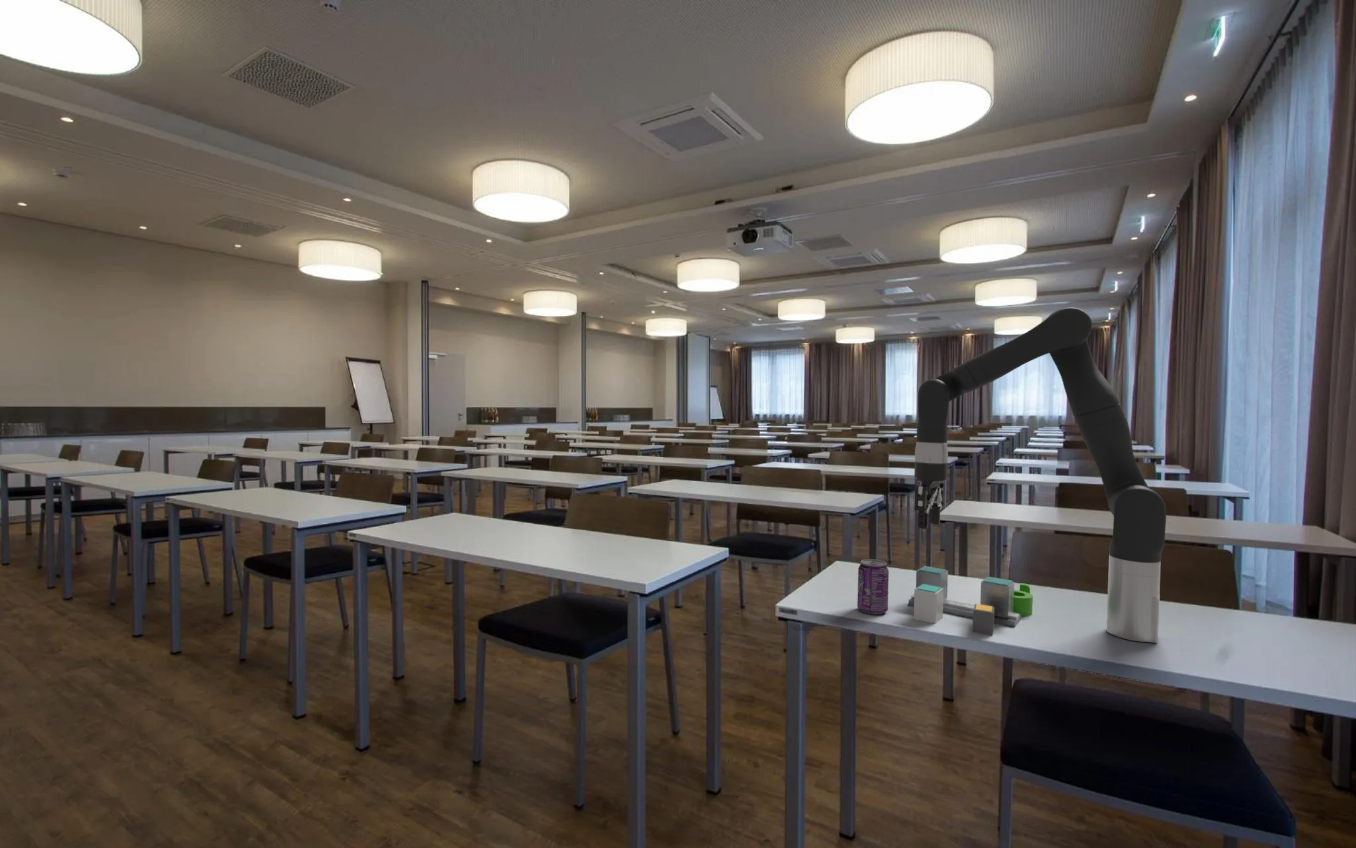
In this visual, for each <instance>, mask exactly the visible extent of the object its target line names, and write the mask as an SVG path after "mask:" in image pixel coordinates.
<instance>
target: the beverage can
mask: <svg viewBox="0 0 1356 848" xmlns="http://www.w3.org/2000/svg"><path fill="white" fill-rule="evenodd" d="M887 565H888V564H887V562H886V561H883V560H880V559H871V558H869V559H867V558H866V559H861V560H860V564H859V566H858V571H857V598H856V599H857V609H858V610H860V611H861V612H863V613H864V614H869V615H882V614H883V613H886V612H887V611H888V610H889V577H890V576H889V575H890V574H889V573H890V572H889V571H890V570H889V569H888V566H887Z"/></svg>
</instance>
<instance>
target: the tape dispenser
mask: <svg viewBox="0 0 1356 848" xmlns="http://www.w3.org/2000/svg"><path fill="white" fill-rule="evenodd" d="M1033 600H1034V596H1033V594H1031V587H1030V585H1029V584H1027V583H1023V582H1022V583H1021V582H1020V583H1019V589H1014V609H1013V613H1018V614H1021V617H1029V616H1032V615H1033V606H1034V605H1033V604H1034V603H1033V602H1034V601H1033Z"/></svg>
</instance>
